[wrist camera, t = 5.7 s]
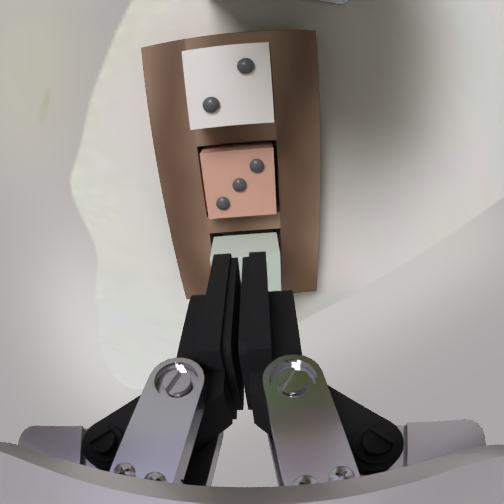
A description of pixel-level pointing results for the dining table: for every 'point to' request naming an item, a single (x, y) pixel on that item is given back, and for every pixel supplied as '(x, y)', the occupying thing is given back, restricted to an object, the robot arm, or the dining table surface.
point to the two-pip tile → (228, 85)
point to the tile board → (281, 131)
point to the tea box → (335, 1)
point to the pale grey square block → (252, 243)
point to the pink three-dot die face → (239, 179)
